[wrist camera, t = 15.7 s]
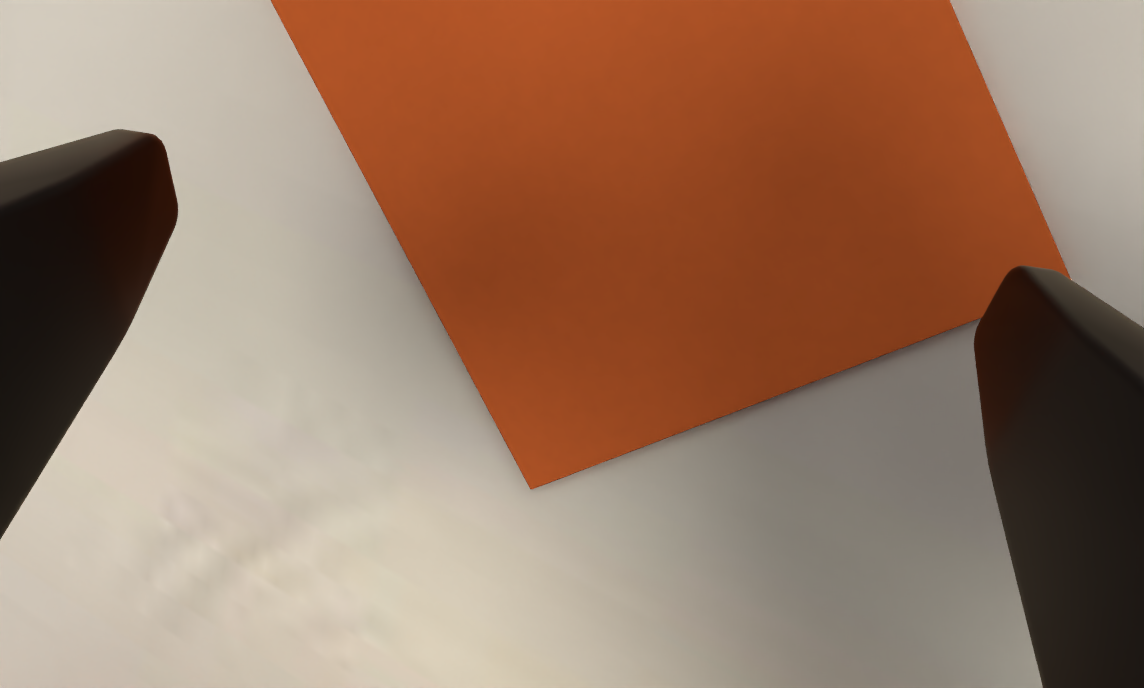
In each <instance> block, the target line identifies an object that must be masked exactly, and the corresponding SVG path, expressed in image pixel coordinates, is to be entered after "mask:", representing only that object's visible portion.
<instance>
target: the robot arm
mask: <svg viewBox="0 0 1144 688" xmlns="http://www.w3.org/2000/svg"><path fill="white" fill-rule="evenodd" d="M177 217H178V203H177V198H176V193H175V189H174V184H173V180H172V175H171V171H170V166H169V162H168V157H167V153H166V150H165V147H164V145H163V143H162V141H161V140H160V139H159V138H158V137H157V136H155V135H153V134H149V133H143V132H136V131H129V130H123V129H117V130H112V131H108V132H105V133H101V134H98V135H94V136H91V137H87V138H84V139H80V140H77V141H73V142H70V143H66V144H63V145H59V146H56V147H52V148H49V149H45V150H42V151H38V152H35V153H31V154H28V155H24V156H21V157H17V158H14V159H10V160H7V161H3V162H0V539H1V538H2V536H3V534H4V533H5V531H6V529H7V528H8V526H9V525H10V523H11V521H12V520H13V518H14V516H15V515H16V513H17V512H18V510H19V508H20V507H21V505H22V503H23V502H24V500H25V498H26V497H27V495H28V494H29V492H30V490H31V489H32V487H33V485H34V484H35V482H36V481H37V479H38V477H39V476H40V474H41V472H42V471H43V469H44V468H45V466H46V464H47V463H48V461H49V459H50V458H51V456H52V455H53V453H54V451H55V450H56V448H57V446H58V445H59V443H60V442H61V440H62V438H63V437H64V435H65V433H66V432H67V430H68V429H69V427H70V425H71V424H72V422H73V420H74V419H75V417H76V415H77V414H78V412H79V411H80V409H81V407H82V406H83V404H84V402H85V401H86V399H87V398H88V396H89V394H90V393H91V391H92V389H93V388H94V386H95V385H96V383H97V381H98V380H99V378H100V376H101V375H102V373H103V372H104V370H105V368H106V367H107V365H108V363H109V362H110V360H111V359H112V357H113V355H114V354H115V352H116V350H117V348H118V347H119V345H120V343H121V341H122V340H123V338H124V336H125V335H126V333H127V331H128V329H129V327H130V325H131V323H132V321H133V319H134V317H135V314H136V312H137V310H138V308H139V305H140V303H141V301H142V299H143V297H144V294H145V292H146V290H147V288H148V286H149V283H150V281H151V279H152V277H153V275H154V272H155V270H156V268H157V266H158V263H159V261H160V259H161V257H162V255H163V252H164V250H165V248H166V246H167V244H168V241H169V239H170V237H171V235H172V233H173V230H174V228H175V225H176V222H177ZM974 352H975V360H976V369H977V377H978V386H979V394H980V403H981V411H982V420H983V429H984V437H985V446H986V452H987V458H988V465H989V469H990V474H991V479H992V483H993V487H994V491H995V496H996V500H997V504H998V508H999V512H1000V516H1001V520H1002V524H1003V528H1004V532H1005V536H1006V540H1007V544H1008V548H1009V552H1010V556H1011V560H1012V564H1013V568H1014V572H1015V576H1016V580H1017V584H1018V588H1019V592H1020V596H1021V600H1022V604H1023V608H1024V612H1025V616H1026V620H1027V625H1028V629H1029V633H1030V637H1031V641H1032V645H1033V649H1034V653H1035V657H1036V661H1037V665H1038V669H1039V673H1040V677H1041V681H1042V685H1043V688H1144V328H1143V327H1142V326H1140V325H1139V324H1137V323H1136V322H1134V321H1132V320H1131V319H1129V318H1128V317H1126V316H1125V315H1123V314H1122V313H1120V312H1119V311H1117V310H1116V309H1114V308H1113V307H1111V306H1110V305H1108V304H1107V303H1105V302H1104V301H1102V300H1101V299H1099V298H1098V297H1096V296H1095V295H1093V294H1092V293H1090V292H1089V291H1087V290H1086V289H1084V288H1083V287H1081V286H1080V285H1078V284H1077V283H1075V282H1074V281H1072V280H1071V279H1069V278H1068V277H1066V276H1065V275H1063V274H1061V273H1060V272H1058V271H1055V270H1052V269H1045V268H1038V267H1032V266H1025V265H1020V266H1017V267H1015V268H1013V269H1011V270H1010V271H1009V272H1008V273H1007V275H1006V276H1005V277H1004V279H1003V281H1002V282H1001V284H1000V286H999V288H998V290H997V292H996V293H995V295H994V297H993V299H992V301H991V302H990V304H989V306H988V308H987V310H986V311H985V313H984V315H983V317H982V319H981V320H980V322H979V324H978V327H977V330H976V333H975V338H974Z"/></svg>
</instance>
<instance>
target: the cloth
mask: <svg viewBox="0 0 1144 688" xmlns="http://www.w3.org/2000/svg"><path fill="white" fill-rule="evenodd" d="M271 2H272V4H273V6H274V8H275V9H276V11H277V13H278V15H279V17H280V19H281V21H282V23H283V24H284V26H285V28H286V30H287V32H288V34H289V36H290V38H291V40H292V41H293V43H294V45H295V47H296V49H297V51H298V53H299V55H300V56H301V58H302V60H303V62H304V64H305V66H306V68H307V70H308V72H309V73H310V75H311V77H312V79H313V81H314V83H315V85H316V87H317V88H318V90H319V92H320V94H321V96H322V98H323V100H324V102H325V103H326V105H327V107H328V109H329V111H330V113H331V115H332V117H333V119H334V120H335V122H336V124H337V126H338V128H339V130H340V132H341V134H342V135H343V137H344V139H345V141H346V143H347V145H348V147H349V149H350V151H351V152H352V154H353V156H354V158H355V160H356V162H357V164H358V166H359V167H360V169H361V171H362V173H363V175H364V177H365V179H366V181H367V182H368V184H369V186H370V188H371V190H372V192H373V194H374V196H375V198H376V199H377V201H378V203H379V205H380V207H381V209H382V211H383V213H384V214H385V216H386V218H387V220H388V222H389V224H390V226H391V228H392V230H393V231H394V233H395V235H396V237H397V239H398V241H399V243H400V245H401V246H402V248H403V250H404V252H405V254H406V256H407V258H408V260H409V261H410V263H411V265H412V267H413V269H414V271H415V273H416V275H417V277H418V278H419V280H420V282H421V284H422V286H423V288H424V290H425V292H426V293H427V295H428V297H429V299H430V301H431V303H432V305H433V307H434V309H435V310H436V312H437V314H438V316H439V318H440V320H441V322H442V324H443V325H444V327H445V329H446V331H447V333H448V335H449V337H450V339H451V340H452V342H453V344H454V346H455V348H456V350H457V352H458V354H459V356H460V357H461V359H462V361H463V363H464V365H465V367H466V369H467V371H468V372H469V374H470V376H471V378H472V380H473V382H474V384H475V386H476V388H477V389H478V391H479V393H480V395H481V397H482V399H483V401H484V403H485V404H486V406H487V408H488V410H489V412H490V414H491V416H492V418H493V419H494V421H495V423H496V425H497V427H498V429H499V431H500V433H501V435H502V436H503V438H504V440H505V442H506V444H507V446H508V448H509V450H510V451H511V453H512V455H513V457H514V459H515V461H516V463H517V465H518V467H519V468H520V470H521V472H522V474H523V476H524V478H525V480H526V482H527V483H528V485H529V487H530V489H534V488H537V487H539V486H542V485H545V484H547V483H550V482H552V481H555V480H558V479H560V478H563V477H566V476H568V475H571V474H573V473H576V472H579V471H581V470H584V469H586V468H589V467H592V466H594V465H597V464H600V463H602V462H605V461H607V460H610V459H613V458H615V457H618V456H621V455H623V454H626V453H628V452H631V451H634V450H636V449H639V448H641V447H644V446H647V445H649V444H652V443H655V442H657V441H660V440H662V439H665V438H668V437H670V436H673V435H676V434H678V433H681V432H683V431H686V430H689V429H691V428H694V427H696V426H699V425H702V424H704V423H707V422H710V421H712V420H715V419H717V418H720V417H723V416H725V415H728V414H731V413H733V412H736V411H738V410H741V409H744V408H746V407H749V406H752V405H754V404H757V403H759V402H762V401H765V400H767V399H770V398H772V397H775V396H778V395H780V394H783V393H786V392H788V391H791V390H793V389H796V388H799V387H801V386H804V385H807V384H809V383H812V382H814V381H817V380H820V379H822V378H825V377H827V376H830V375H833V374H835V373H838V372H841V371H843V370H846V369H848V368H851V367H854V366H856V365H859V364H862V363H864V362H867V361H869V360H872V359H875V358H877V357H880V356H882V355H885V354H888V353H890V352H893V351H896V350H898V349H901V348H903V347H906V346H909V345H911V344H914V343H917V342H919V341H922V340H924V339H927V338H930V337H932V336H935V335H938V334H940V333H943V332H945V331H948V330H951V329H953V328H956V327H958V326H961V325H964V324H966V323H969V322H972V321H974V320H977V319H979V318H982V317H983V315H984V313H985V311H986V310H987V308H988V306H989V304H990V302H991V301H992V299H993V297H994V295H995V293H996V292H997V290H998V288H999V286H1000V284H1001V282H1002V281H1003V279H1004V277H1005V276H1006V275H1007V273H1008V272H1009V271H1010V270H1011V269H1013V268H1015V267H1017V266H1020V265H1025V266H1032V267H1038V268H1045V269H1052V270H1055V271H1058V272H1060V273H1061V274H1063V275H1065V276H1066V277H1068V278H1069V279H1071V278H1070V276H1069V274H1068V272H1067V269H1066V267H1065V265H1064V262H1063V260H1062V258H1061V255H1060V253H1059V251H1058V249H1057V246H1056V244H1055V242H1054V239H1053V237H1052V235H1051V233H1050V230H1049V228H1048V226H1047V223H1046V221H1045V219H1044V216H1043V214H1042V212H1041V210H1040V207H1039V205H1038V203H1037V200H1036V198H1035V196H1034V193H1033V191H1032V189H1031V187H1030V184H1029V182H1028V180H1027V177H1026V175H1025V173H1024V170H1023V168H1022V166H1021V164H1020V161H1019V159H1018V157H1017V154H1016V152H1015V150H1014V148H1013V145H1012V143H1011V141H1010V138H1009V136H1008V134H1007V131H1006V129H1005V127H1004V125H1003V122H1002V120H1001V118H1000V115H999V113H998V111H997V108H996V106H995V104H994V102H993V99H992V97H991V95H990V92H989V90H988V88H987V85H986V83H985V81H984V79H983V76H982V74H981V72H980V69H979V67H978V65H977V63H976V60H975V58H974V56H973V53H972V51H971V49H970V46H969V44H968V42H967V40H966V37H965V35H964V33H963V30H962V28H961V26H960V23H959V21H958V19H957V17H956V14H955V12H954V10H953V7H952V5H951V3H950V0H271Z"/></svg>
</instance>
